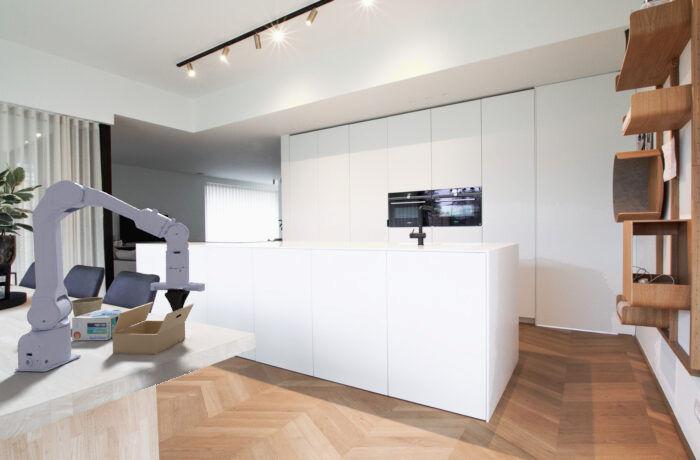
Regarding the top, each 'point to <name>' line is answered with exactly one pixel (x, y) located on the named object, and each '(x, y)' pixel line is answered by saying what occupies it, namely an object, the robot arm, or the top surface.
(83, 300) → the flower pot
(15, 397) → the top surface
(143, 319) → the flap
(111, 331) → the light bulb box
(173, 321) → the flap
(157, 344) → the carton
